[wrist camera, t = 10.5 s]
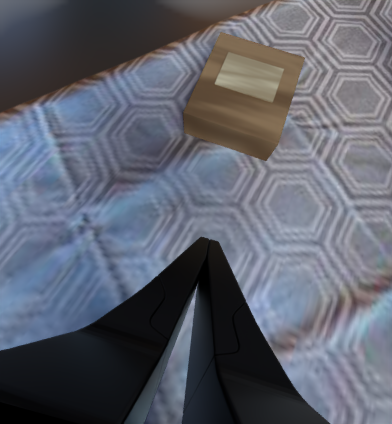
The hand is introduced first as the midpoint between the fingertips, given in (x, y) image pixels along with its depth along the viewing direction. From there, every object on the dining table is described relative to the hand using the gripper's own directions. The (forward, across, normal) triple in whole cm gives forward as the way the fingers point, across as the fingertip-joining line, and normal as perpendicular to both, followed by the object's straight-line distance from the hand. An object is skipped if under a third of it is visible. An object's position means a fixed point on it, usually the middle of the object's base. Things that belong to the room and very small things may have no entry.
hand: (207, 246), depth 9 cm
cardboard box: (+18, 0, -1) cm, 19 cm away
